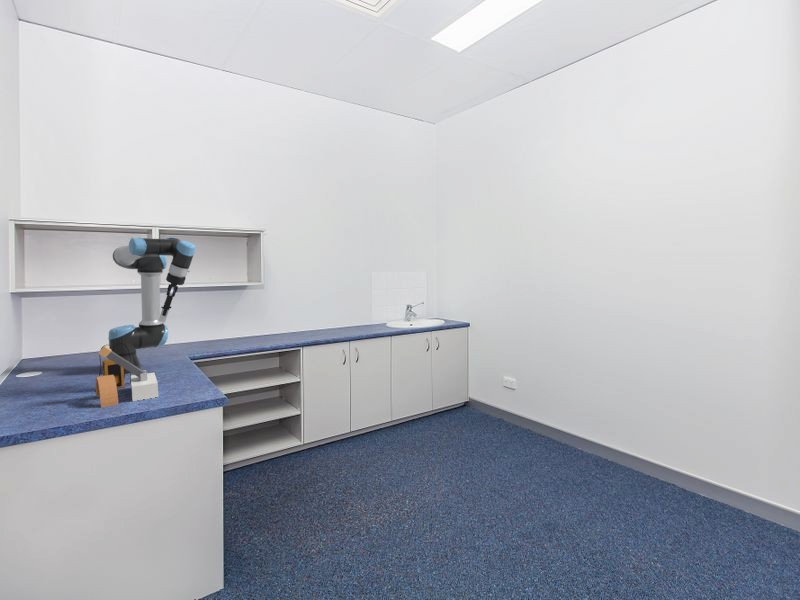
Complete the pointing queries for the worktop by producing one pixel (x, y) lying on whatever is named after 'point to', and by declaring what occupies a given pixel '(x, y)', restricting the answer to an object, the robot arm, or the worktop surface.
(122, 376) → the multimeter
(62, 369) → the worktop surface
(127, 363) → the lever
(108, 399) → the arch
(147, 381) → the white rectangular slab
